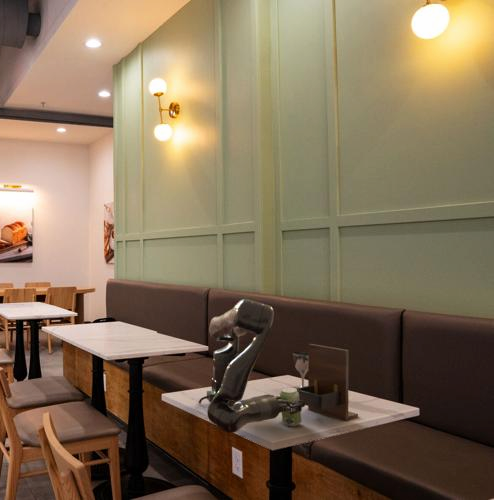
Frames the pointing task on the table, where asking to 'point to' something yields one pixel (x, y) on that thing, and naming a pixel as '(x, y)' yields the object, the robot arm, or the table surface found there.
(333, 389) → the wooden backboard stand
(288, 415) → the beverage can
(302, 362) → the wine glass
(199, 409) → the table surface
